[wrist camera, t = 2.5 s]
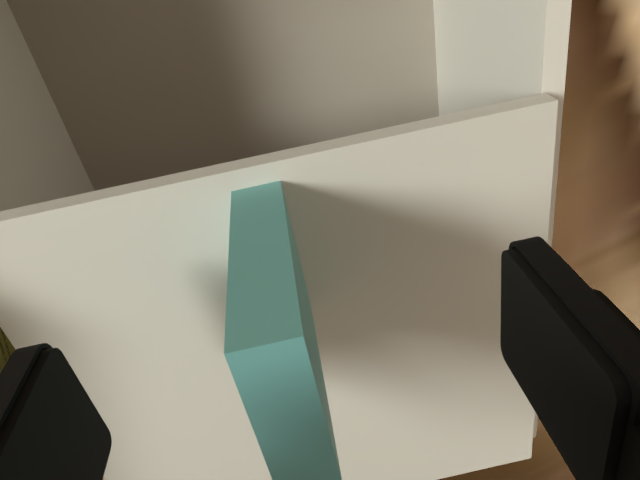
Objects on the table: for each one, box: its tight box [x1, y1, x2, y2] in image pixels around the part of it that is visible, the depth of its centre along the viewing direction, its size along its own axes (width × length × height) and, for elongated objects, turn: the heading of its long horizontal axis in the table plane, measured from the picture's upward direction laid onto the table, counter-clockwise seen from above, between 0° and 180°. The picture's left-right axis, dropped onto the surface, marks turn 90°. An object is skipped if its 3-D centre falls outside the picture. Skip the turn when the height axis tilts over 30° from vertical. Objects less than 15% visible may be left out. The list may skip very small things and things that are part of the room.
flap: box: [0, 93, 558, 480], centre depth 14 cm, size 14×15×6 cm
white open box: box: [0, 0, 572, 438], centre depth 18 cm, size 23×16×9 cm
